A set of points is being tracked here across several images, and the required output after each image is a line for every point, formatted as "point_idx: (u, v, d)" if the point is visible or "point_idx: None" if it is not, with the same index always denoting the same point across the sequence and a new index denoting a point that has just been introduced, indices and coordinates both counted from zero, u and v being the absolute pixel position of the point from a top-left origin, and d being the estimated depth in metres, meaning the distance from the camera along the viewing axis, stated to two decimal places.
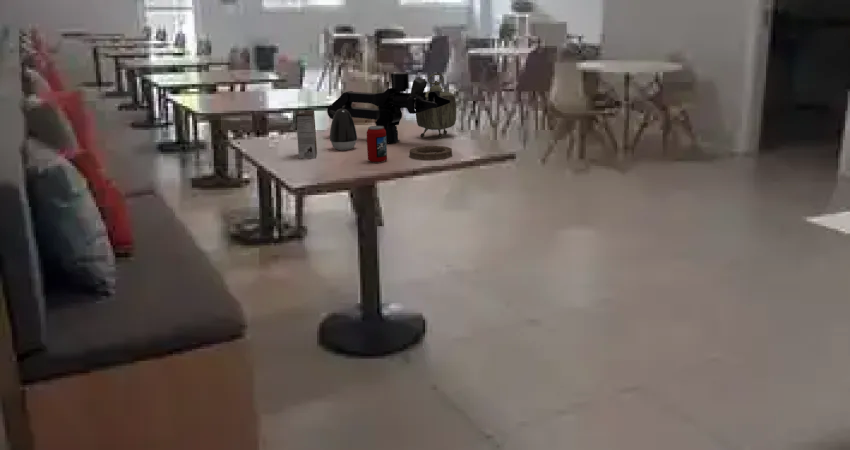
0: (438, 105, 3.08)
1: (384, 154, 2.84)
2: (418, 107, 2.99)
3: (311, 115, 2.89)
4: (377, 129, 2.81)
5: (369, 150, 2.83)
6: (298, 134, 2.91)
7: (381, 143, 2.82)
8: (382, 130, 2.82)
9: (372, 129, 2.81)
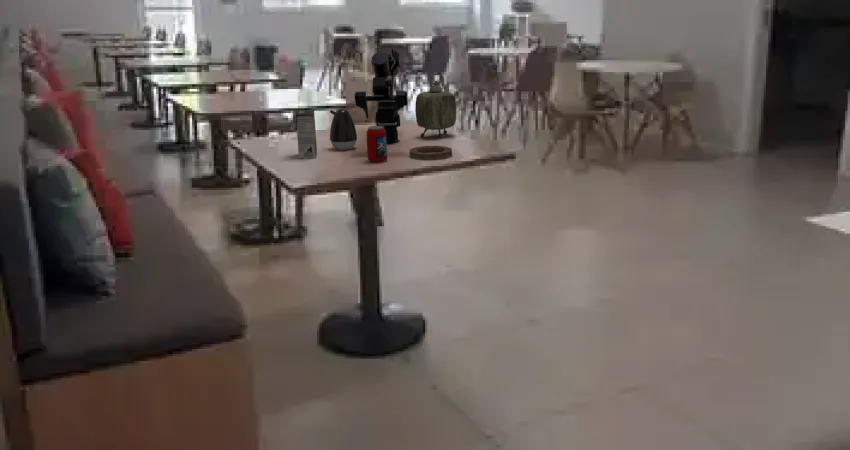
0: None
1: (384, 154, 2.84)
2: (361, 105, 2.95)
3: (311, 115, 2.89)
4: (377, 129, 2.81)
5: (369, 150, 2.83)
6: (298, 134, 2.91)
7: (381, 143, 2.82)
8: (382, 130, 2.82)
9: (372, 129, 2.81)
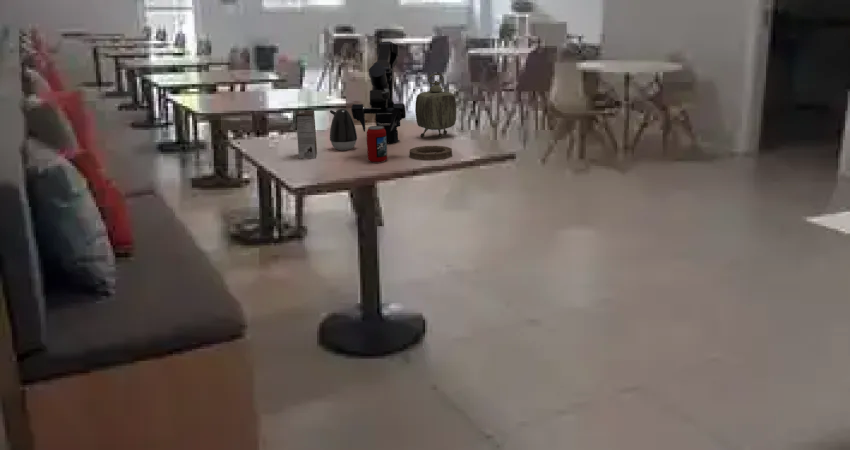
0: None
1: (384, 154, 2.84)
2: (358, 117, 2.91)
3: (311, 115, 2.89)
4: (377, 129, 2.81)
5: (369, 150, 2.83)
6: (298, 134, 2.91)
7: (381, 143, 2.82)
8: (382, 130, 2.82)
9: (372, 129, 2.81)
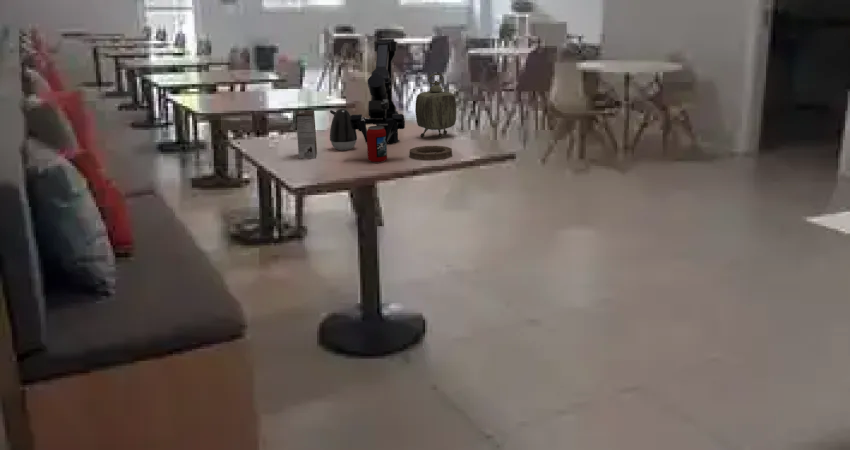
0: None
1: (384, 154, 2.84)
2: (360, 128, 2.88)
3: (311, 115, 2.89)
4: (377, 129, 2.81)
5: (369, 150, 2.83)
6: (298, 134, 2.91)
7: (381, 143, 2.82)
8: (382, 130, 2.82)
9: (372, 129, 2.81)
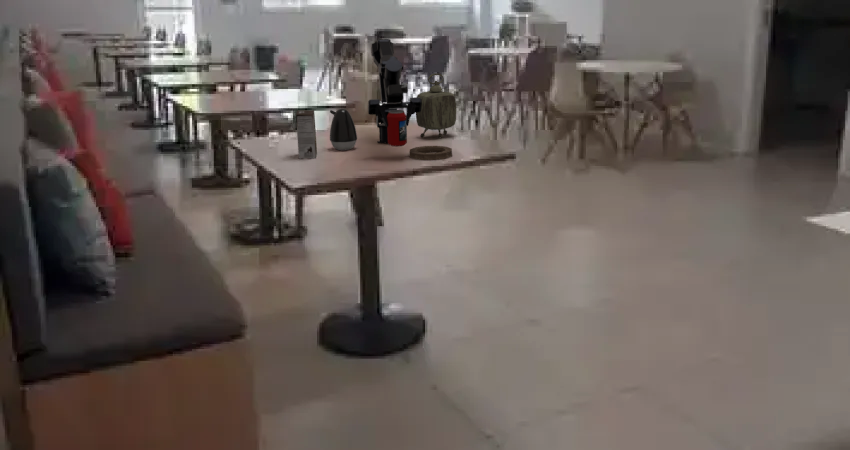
0: (406, 115, 2.90)
1: (406, 138, 2.87)
2: (378, 112, 2.88)
3: (311, 115, 2.89)
4: (399, 113, 2.83)
5: (391, 134, 2.85)
6: (298, 134, 2.91)
7: (403, 127, 2.84)
8: (403, 114, 2.84)
9: (394, 113, 2.83)
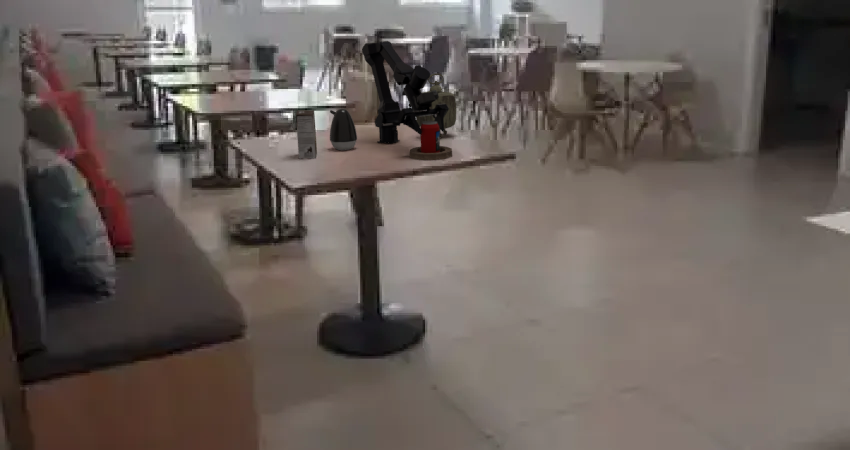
0: None
1: (439, 148, 2.93)
2: (407, 121, 2.90)
3: (311, 115, 2.89)
4: (435, 123, 2.88)
5: (428, 145, 2.89)
6: (298, 134, 2.91)
7: (438, 137, 2.90)
8: None
9: (430, 124, 2.88)
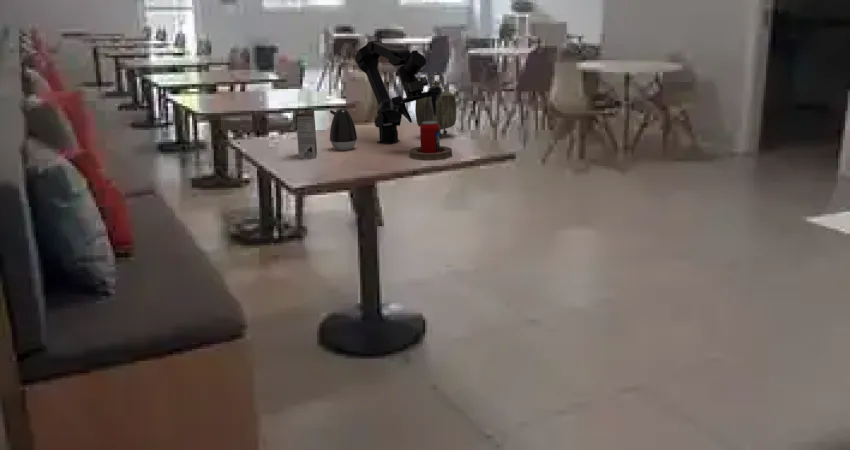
0: (430, 104, 2.99)
1: (439, 148, 2.93)
2: (398, 109, 2.96)
3: (311, 115, 2.89)
4: (435, 123, 2.88)
5: (428, 145, 2.89)
6: (298, 134, 2.91)
7: (438, 137, 2.90)
8: (437, 124, 2.90)
9: (430, 124, 2.88)
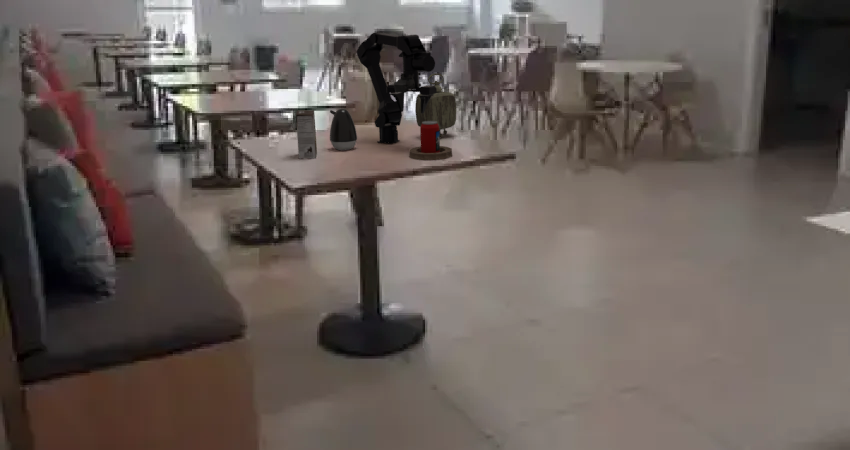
0: None
1: (439, 148, 2.93)
2: None
3: (311, 115, 2.89)
4: (435, 123, 2.88)
5: (428, 145, 2.89)
6: (298, 134, 2.91)
7: (438, 137, 2.90)
8: (437, 124, 2.90)
9: (430, 124, 2.88)
